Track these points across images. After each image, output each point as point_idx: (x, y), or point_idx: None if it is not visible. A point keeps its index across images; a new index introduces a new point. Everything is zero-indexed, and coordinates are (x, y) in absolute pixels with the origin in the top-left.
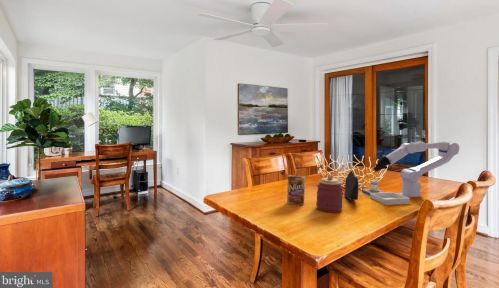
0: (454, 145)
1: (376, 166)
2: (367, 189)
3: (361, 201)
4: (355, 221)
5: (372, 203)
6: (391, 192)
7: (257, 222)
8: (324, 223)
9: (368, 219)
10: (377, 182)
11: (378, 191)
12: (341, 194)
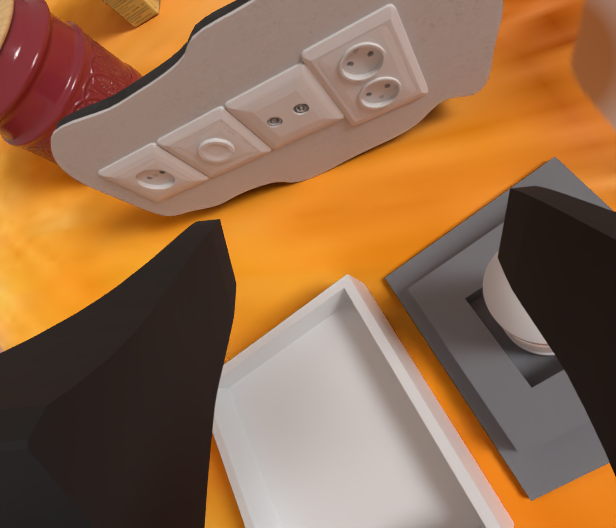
0: None
1: (221, 241)
2: None
3: (257, 237)
4: (22, 252)
5: (235, 307)
6: (475, 507)
7: None
8: (8, 169)
9: (38, 295)
10: (509, 332)
11: None
12: (10, 142)
